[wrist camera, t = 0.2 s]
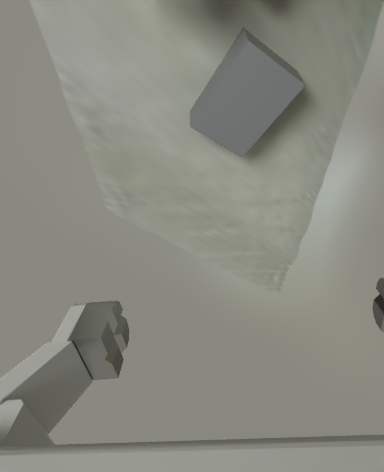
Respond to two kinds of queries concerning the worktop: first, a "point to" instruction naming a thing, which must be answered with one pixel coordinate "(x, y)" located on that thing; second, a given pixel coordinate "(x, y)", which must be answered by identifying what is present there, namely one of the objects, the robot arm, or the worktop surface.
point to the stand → (245, 95)
